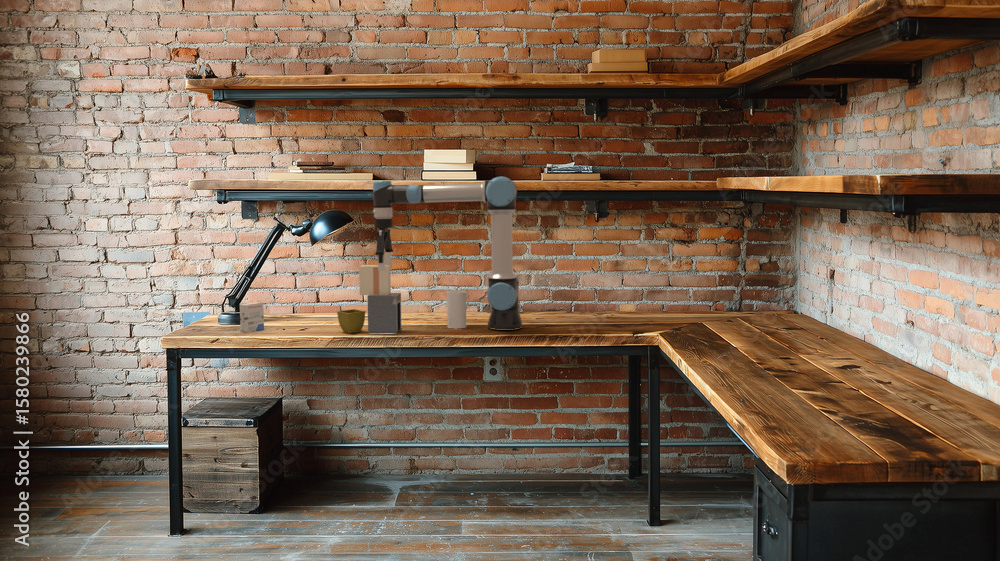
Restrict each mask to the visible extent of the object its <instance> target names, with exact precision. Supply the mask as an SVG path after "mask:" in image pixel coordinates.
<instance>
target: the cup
mask: <svg viewBox="0 0 1000 561" xmlns="http://www.w3.org/2000/svg"><path fill="white" fill-rule="evenodd" d="M446 315H447V316H446V317H447V318H446V319H447V320H446V322H447V324H446V326H447V327H448V328H455V329H454V330H458V329H457V328H465V327H466V328H467V291H466V290H462V289H461V290H460V289H451V290H447V291H446ZM448 328H447V329H448ZM466 328H465V329H466Z"/></svg>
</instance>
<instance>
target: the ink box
mask: <svg viewBox="0 0 1000 561" xmlns="http://www.w3.org/2000/svg"><path fill="white" fill-rule="evenodd" d="M239 318H240V320H239V321H240V323H239V324H240V332H243V333H252V332H257V331H264V330H265V319H264V318H265V316H264V303H263V302H259V301H254V302H246V303H239Z"/></svg>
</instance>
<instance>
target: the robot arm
mask: <svg viewBox="0 0 1000 561" xmlns="http://www.w3.org/2000/svg"><path fill="white" fill-rule="evenodd" d="M372 188H373V189H372V194H373V195H372V197H373V210H372V213H373V217H374V220H373V222H374V223H373V224H374V225H373V226H374V228H375V229H378V230H377V232H376V233H377V234H376V236H377V237H376V251H375V256H377V265H378V271H385V265H390V269H391V268H393V264H392V260H393V259H392V253H394V249H393V245H392V244H393V243H392V238H391V229H390V228H393V226H394V223H393V221H394V220H393V216H394V215H393V204H419V203H421V204H423V203H449V202H450V203H452V202H453V203H458V202H459V203H460V202H483V203H484V204H486V206H487V212H488V213H489V214H490V217H491V218H490V220H491V223H490V224H491V225H490V227H491V228H490V229H491V231H490V232H491V234H490V235H491V274H489V276H488V282H487V283H488V284H487V285H488V288H487V289H488V290H487V294H486V298H487V302H488V303H489V305H490V306H491V312H490V315H489V318H488V321H487V328H488V327H490V328H495V329H515V328H520V327H522V328H523V320H522V317H521V314H520V312H519V297H520V296H519V290H520V289H519V286H520V281H519V276H517V275H516V274H515V273H514V272H513V271H514V269H513V268H514V265H513V264H514V263H513V262H514V261H513V257H514V255H513V252H514V251H513V214H514V213H515V212H516V211H517V204H516V203H517V202H516V200H517V195H518V189H517V185H516V183H515V182H514V181H513V180H512V179H510V178H508V177H507V176H496V177H493V178H492V179H490V180H483V182H479V183H478V182H476V183H475V182H474V183H470V182H469V183H446V184H444V183H443V184H442V183H441V184H439V183H438V184H420V185H419V184H398V185H397V184H396V185H394V184H392V181H391V180H375V181H373V185H372Z"/></svg>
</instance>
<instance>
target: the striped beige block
mask: <svg viewBox="0 0 1000 561" xmlns="http://www.w3.org/2000/svg"><path fill="white" fill-rule="evenodd" d="M358 271H359V281H358V282H359V295H360V296H368V295H389V294H391V293H392V284H391V282H392V281H391V279H392V278H391V277H392V276H391V268H390V265H385V271H378V264H377V265H376V264H371V265H369V264H362V265H359V267H358Z"/></svg>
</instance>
